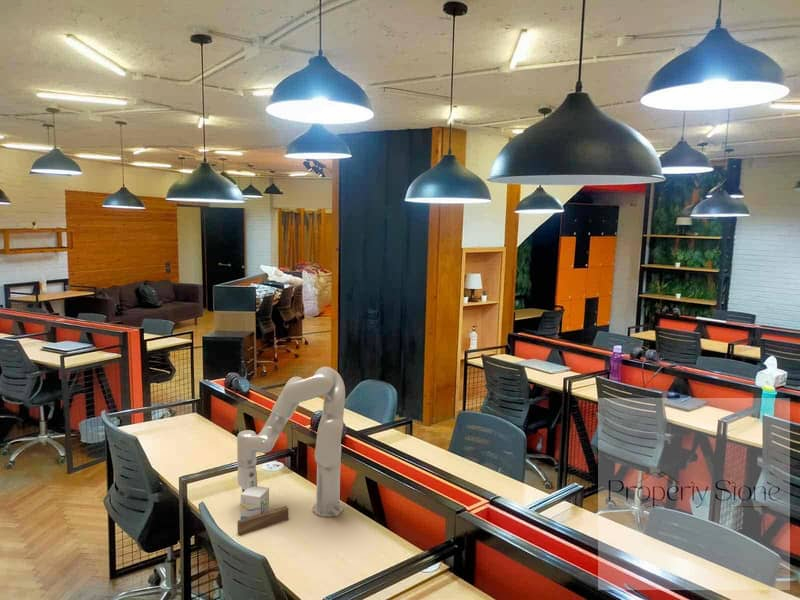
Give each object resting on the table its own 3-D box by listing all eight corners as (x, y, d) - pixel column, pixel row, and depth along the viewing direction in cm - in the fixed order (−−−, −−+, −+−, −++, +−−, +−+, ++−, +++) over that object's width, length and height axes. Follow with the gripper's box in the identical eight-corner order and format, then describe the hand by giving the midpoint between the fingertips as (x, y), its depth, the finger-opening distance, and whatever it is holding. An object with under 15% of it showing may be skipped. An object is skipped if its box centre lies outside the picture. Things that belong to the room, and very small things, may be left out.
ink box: (259, 525, 212) (259, 496, 211) (239, 522, 214) (239, 494, 213) (269, 514, 221) (269, 487, 219) (250, 511, 223) (250, 484, 221)
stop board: (288, 519, 217) (288, 507, 217) (239, 535, 205) (239, 522, 204) (286, 517, 219) (286, 505, 218) (237, 533, 206) (237, 520, 206)
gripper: (263, 465, 219) (262, 508, 221) (248, 453, 230) (248, 494, 233) (245, 469, 214) (244, 514, 216) (231, 457, 226) (231, 499, 228)
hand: (246, 503), depth 224 cm, fingers closed
